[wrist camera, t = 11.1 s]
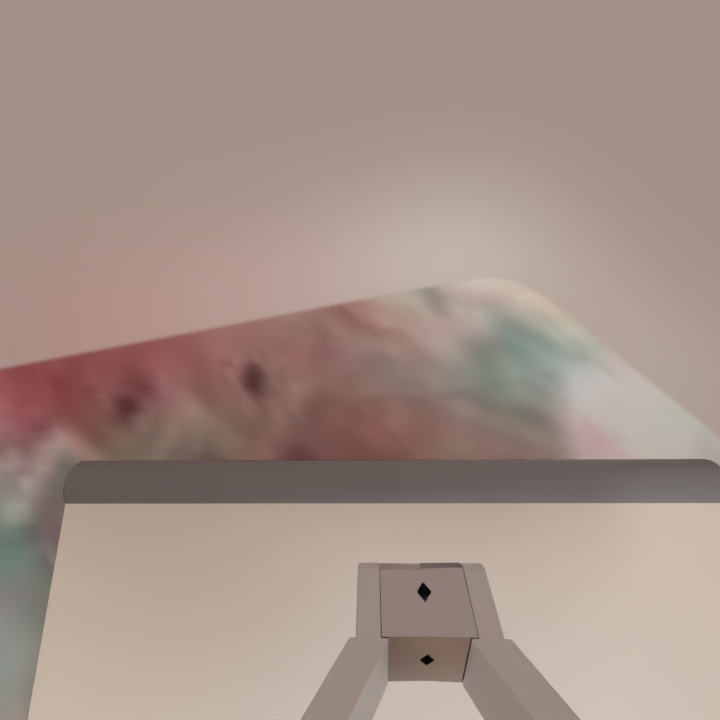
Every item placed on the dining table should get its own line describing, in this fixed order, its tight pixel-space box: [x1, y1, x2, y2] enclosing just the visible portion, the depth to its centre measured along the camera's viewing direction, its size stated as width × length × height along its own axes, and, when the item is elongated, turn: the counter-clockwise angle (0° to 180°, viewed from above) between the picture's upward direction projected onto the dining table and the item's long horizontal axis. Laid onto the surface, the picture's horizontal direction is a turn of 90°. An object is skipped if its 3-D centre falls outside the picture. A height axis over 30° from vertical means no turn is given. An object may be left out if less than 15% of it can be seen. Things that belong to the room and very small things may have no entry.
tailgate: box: [28, 459, 720, 720], centre depth 12 cm, size 21×2×12 cm
